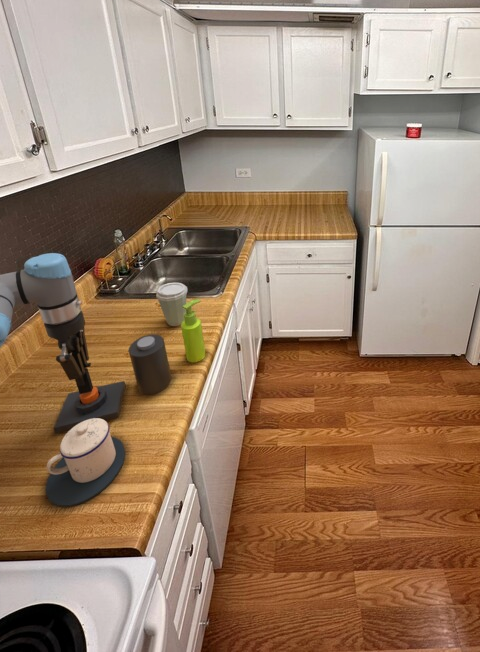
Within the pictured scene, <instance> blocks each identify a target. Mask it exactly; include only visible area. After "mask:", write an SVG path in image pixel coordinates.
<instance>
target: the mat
mask: <svg viewBox="0 0 480 652" xmlns="http://www.w3.org/2000/svg"><path fill="white" fill-rule="evenodd" d="M111 438H112V441H113V444H114V448H115V451H116V455H115V459H114V461H113V463H112V465H111V466H110V468H109V469H108V470H107V471H106V472H105V473H104V474H102V475H101V476H100V477H98V478H96V479H94V480H92V481H89V482H84V483H80V482H76V481H75V480H74V479H73V478H72V476H71V474H70V471H67V472H64V473H62V474H57V475H54V474H51V473H49V476H48V478H47V481H46V483H45V495H46V498H47V499H48V501H49V502H50V503H51V504H52V505H54V506H56V507H61V508H69V507H75V506H79V505H81V504H84V503H87V502H88V501H90V500H91V499H94V498H96V497H97V496H98V495H100V493H102V492H103V491H105V490H106V489H107V488H108V487H110V485H111V484H112V483H113V481H114V480H115V479H116V478H117V476H118V475H119V473H120V472H121V470H122V468H123V466H124V463H125V459H126V448H125V445H124V444H123V442H122V440H120V439H119V438H117V437H115V436H111ZM64 466H67V464H66V461H65V459H64V457H63V458H61V459H59V460H58V461H57V463H56V465H54V467H53V468H62V467H64Z"/></svg>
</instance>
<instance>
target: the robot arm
mask: <svg viewBox="0 0 480 652" xmlns="http://www.w3.org/2000/svg"><path fill="white" fill-rule="evenodd" d="M23 266H24V268H23V269H21V270H17V271H12V272H8V273H7V272H6V273H3V274H0V348H1V347H2V346H3V345H4V344H5V343H6V340H7V338H8V336H9V333H10V332H11V329H12V319H13V314H14V310H15V308H16V307H20V306H21V307H22V306H26V305H28V304H31V303H36V305H37V308H38V311H39V314H40V317H41V320H42V322H43V326H44V328H45V331H46V335H47V336H48V338H51V339H54V340H56V341H57V347H58V349H59V350H60V354H59V355H56V356H55V361H56V362H57V363H59V364H60V366H61V369H63V372H64V373H65V375H66V377H67V379H68V380H69V381H72V380H74V381H75V384H76V387H77V390H78V391H79V393H80V394H83V393H87V392H92V389H93V387H94V386H93V382H92V379H91V374H90V371H89V369H88V368H91V366H92V363H91V362H88V361H89V360H90V356H89V350H88V345H87V337H86V334H85V333H86V331H85V326H86V319H85V316H84V313H83V310H82V307H81V305H82V304H83V302H82V300H79V295H78V292H77V289H76V285H75V281H74V277H73V274H72V270H71V268H70V265H69V262H68V259H67V258H66V257H65V255H63V254H62V253H57V252H50V253H43V254H39V255H38V256H32V257H30V258H29V259H27V260H26V261H25V262H24V265H23Z"/></svg>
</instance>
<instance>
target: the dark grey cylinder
mask: <svg viewBox="0 0 480 652" xmlns="http://www.w3.org/2000/svg"><path fill="white" fill-rule="evenodd" d="M128 354H129V357H130V362H131V366H132V370H133V373H134V378H135V382H136V385H137V388H138V392H139V393H140V394H141V395H144V396H154V395H158V394H160V393H161V392H163V391H164V390H166V389H167V388H168V387H169V386H170V384H171V383H172V379H173V377H172V372H171V366H170V363H169V357H168V353H167V348H166V343H165V339H164V337H163V336H162V335H159V334H146V335H144V336H143V335H142V336H141V337H139V338H137V339H135V340H134V341H133V342H132V343H131V344H130V345H129V347H128Z"/></svg>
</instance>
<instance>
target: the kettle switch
mask: <svg viewBox="0 0 480 652" xmlns="http://www.w3.org/2000/svg"><path fill="white" fill-rule="evenodd" d="M96 387H97V386H93V389H92V392H87V393H83V394H80V399H81V402H82V404H90V403H92V402H94V401H95V400H96V399H97V398H98V397H99V393H98V389H97V388H96Z"/></svg>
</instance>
